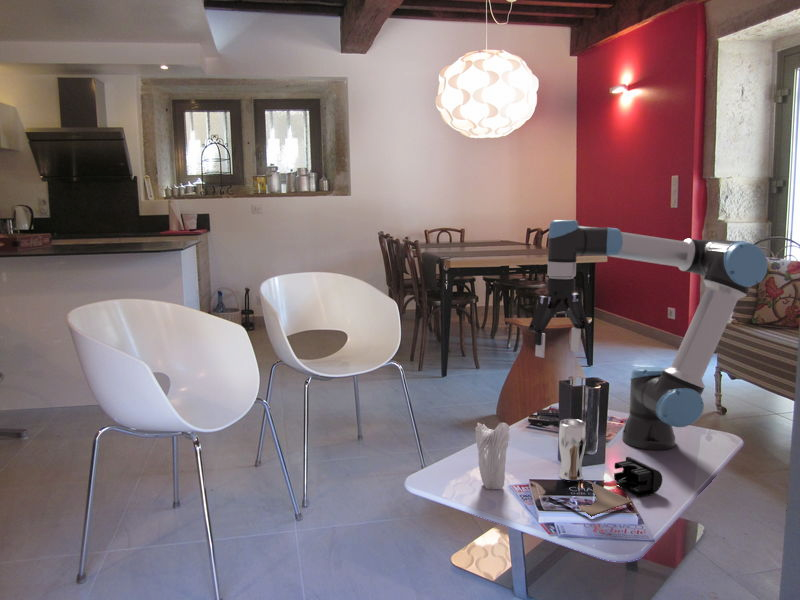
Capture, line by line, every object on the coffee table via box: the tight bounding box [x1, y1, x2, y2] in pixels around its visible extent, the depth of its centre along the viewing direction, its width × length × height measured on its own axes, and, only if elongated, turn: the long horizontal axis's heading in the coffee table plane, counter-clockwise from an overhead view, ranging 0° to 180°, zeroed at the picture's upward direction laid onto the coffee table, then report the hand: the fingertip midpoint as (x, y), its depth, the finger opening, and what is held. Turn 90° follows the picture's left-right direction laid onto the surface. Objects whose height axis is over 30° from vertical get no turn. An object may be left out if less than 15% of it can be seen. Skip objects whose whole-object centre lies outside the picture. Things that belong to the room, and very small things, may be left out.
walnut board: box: [579, 480, 633, 517], centre depth 164 cm, size 14×14×1 cm
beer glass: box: [558, 418, 587, 480], centre depth 177 cm, size 7×7×15 cm
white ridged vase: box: [474, 422, 510, 490], centre depth 171 cm, size 8×8×18 cm
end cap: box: [613, 456, 663, 499], centre depth 171 cm, size 10×7×7 cm
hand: (557, 354), depth 185 cm, fingers open, 13 cm apart
